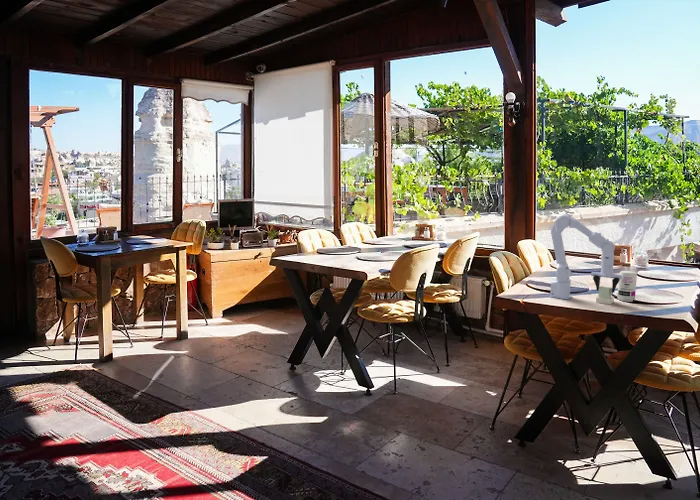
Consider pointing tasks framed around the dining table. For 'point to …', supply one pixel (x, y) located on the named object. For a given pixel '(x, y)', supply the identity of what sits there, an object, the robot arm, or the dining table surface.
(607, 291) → the green cube
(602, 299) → the cream box
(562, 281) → the robot arm
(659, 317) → the dining table surface
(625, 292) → the supplement can
